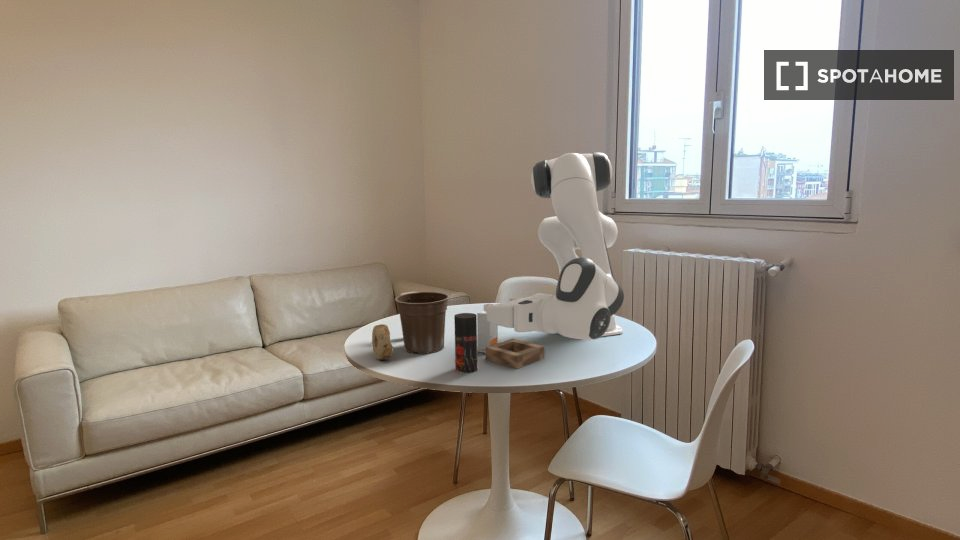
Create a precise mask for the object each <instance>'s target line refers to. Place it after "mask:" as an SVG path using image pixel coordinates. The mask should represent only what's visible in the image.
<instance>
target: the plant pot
mask: <svg viewBox="0 0 960 540" xmlns="http://www.w3.org/2000/svg"><path fill="white" fill-rule="evenodd" d="M415 292H416V293H408V294H404V295H401V294H400V295H398V296H396V297H395V298H394V300H395V303H396V305H397V309H398V310H397V311H398V313H399V317H400V324H401V332H402V338H403V345H404V347H403V348H404V350H405V351H406V352H408V353H411V354H414V353H418V354H419V353H420V354H432V352H433V353H436V352H438V351H441V350H442V349H444V347H445V331H446V313H447V310H448V300H449V299H450V296H449V295H448V294H446V293H443V292H436V291H415ZM420 354H419V355H420Z"/></svg>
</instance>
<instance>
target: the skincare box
mask: <svg viewBox="0 0 960 540" xmlns="http://www.w3.org/2000/svg"><path fill="white" fill-rule="evenodd" d="M476 315H477V353H478V352H479V353H485V347H488V346H491V345H495V344H498V343H499V341H498V339H499V337H498V335H499V333H498V332H499V331H498V329H499V328H498V327H499V325H496V324H492V323H490V322H488V321H487V316H486V312H485V311H484V309H483V310H481V311H479V312H477V314H476Z"/></svg>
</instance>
